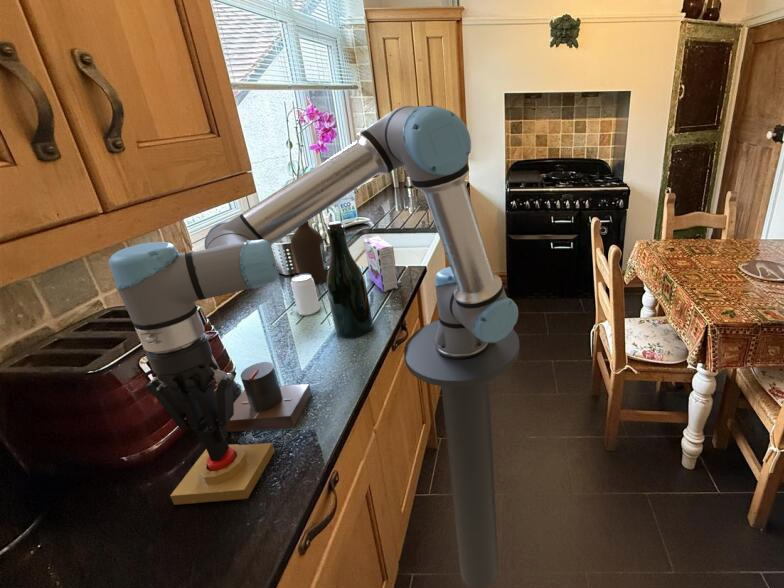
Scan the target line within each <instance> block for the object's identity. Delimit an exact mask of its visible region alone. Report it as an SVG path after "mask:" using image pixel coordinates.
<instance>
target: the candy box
mask: <svg viewBox="0 0 784 588" xmlns="http://www.w3.org/2000/svg"><path fill="white" fill-rule="evenodd" d="M363 244H364V248H365V254H366V260H367V266H368V274H369V279H370V281H371V282H372V283H373V284H374V285H375V286H376V287H377V288H378V289H380V291H382V292H383V293H387V292H391V291H393V290H397V289H399V283H398V277H397V268H396V260H395V251H394V245H393V244H390V243H389V242H388V241H386V240H384V239H383V238H381V237H380V236H379V235H377V236H373V237H369V238H364V239H363Z"/></svg>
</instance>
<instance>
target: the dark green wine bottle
mask: <svg viewBox="0 0 784 588" xmlns="http://www.w3.org/2000/svg"><path fill="white" fill-rule="evenodd" d="M327 226H328V227H327V228H326V232H327V235H328V241H329V249H330V260H329V267H328V275H327V280H326V288H327V294H328V300H329V306H330V311H331V317H332V323H333V326H334V330H335V333H336V335H338V337H342V338H349V339H350V338H355V337H356V338H357V337H360V336H363V335H364V334H366V333H368V332H369V331H371V329H372V327H373V324H374V321H373V316H372V311H371V305H370V300H369V296H368V291H367V290H368V289H367V286H366V281H365V277H364V274H363V272H362V269H361V268H360V267H359V265H358V264H357V262H356V261H355V259H354V258H353V256H352V254H351V251H350V247H349V244H348V241H347V240H348V239H347V237H346V228H345V226H344V225H343V223H342V222H341V221H337V220H336V221H331V222H328V224H327Z"/></svg>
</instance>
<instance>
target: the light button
mask: <svg viewBox="0 0 784 588" xmlns="http://www.w3.org/2000/svg"><path fill="white" fill-rule="evenodd" d="M235 458H236V455H235V453H234V450H233V448H231V447H229V449H228V450H227V452H226V453H225V455H224V456H223V457H222V459H221V460H220V461H211V459H210V457H208V459H207V465H208V467H209V470H210V471H218V470H221V469H223V468H225V467H227V466H228V465H230V464H231V463H232V462H233V461H234V460H235Z"/></svg>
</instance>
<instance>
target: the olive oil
mask: <svg viewBox="0 0 784 588" xmlns="http://www.w3.org/2000/svg"><path fill="white" fill-rule="evenodd" d="M309 224H310V223H309V220H308V221H307V222H305V223H304V224H302V225H301V226H300V227H298V228H297V229H295V232H294V233H292V236H291V240H290V246H291V249H292V250H291V251H292V253H293V256H294V259H295V263H296V266H297V269H298V273H299V275H300V274H310V275H311V277H312V278H313V280H314V283H315V285H318V284H322V283H324V282H327V275H328V270H329V268H328V263H327V256H326V250H325V242H324V238H323V236H322V235H321V233H320V232H319V231H317V230H316V229H315V228H314V227H312V226H311V225H309Z"/></svg>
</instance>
